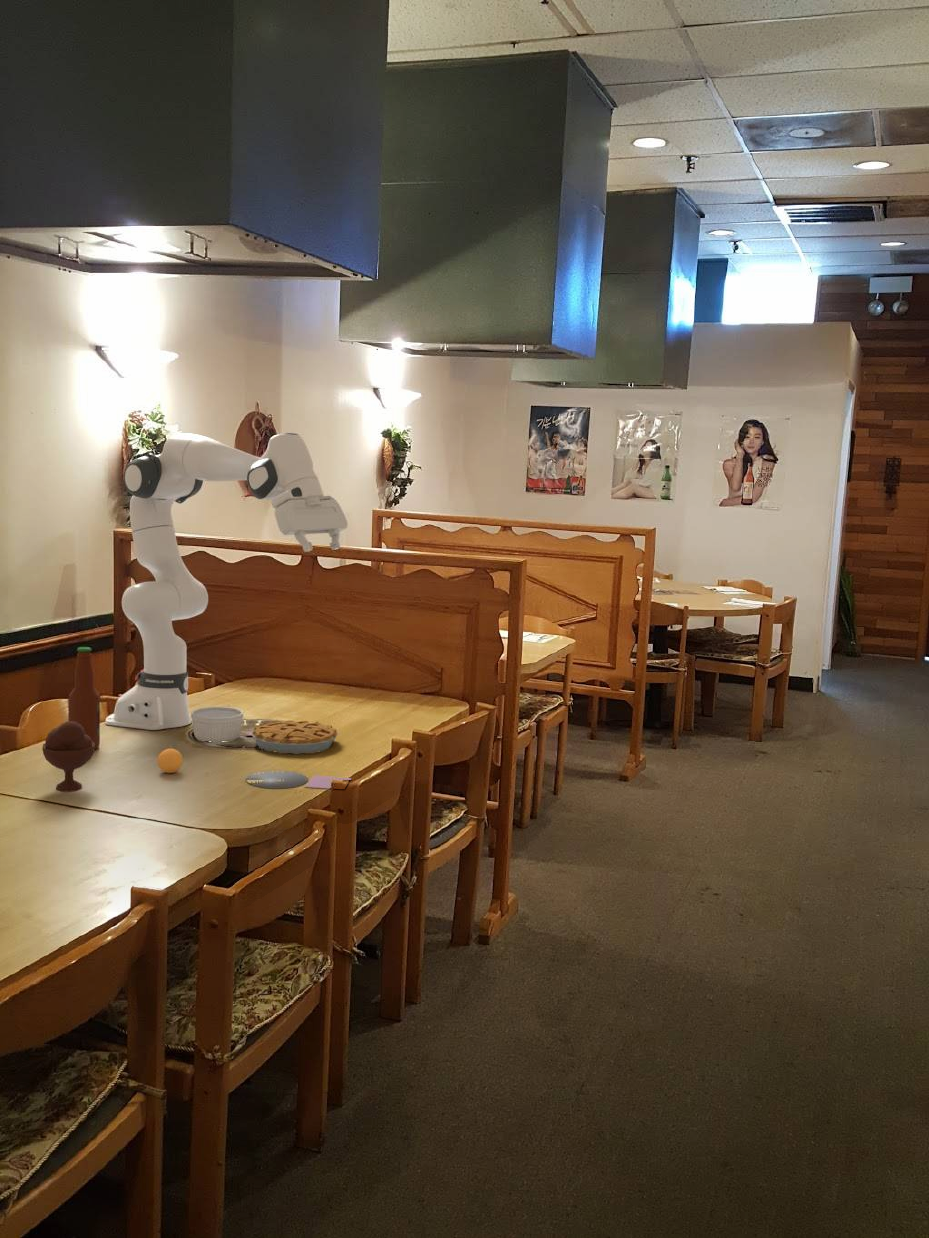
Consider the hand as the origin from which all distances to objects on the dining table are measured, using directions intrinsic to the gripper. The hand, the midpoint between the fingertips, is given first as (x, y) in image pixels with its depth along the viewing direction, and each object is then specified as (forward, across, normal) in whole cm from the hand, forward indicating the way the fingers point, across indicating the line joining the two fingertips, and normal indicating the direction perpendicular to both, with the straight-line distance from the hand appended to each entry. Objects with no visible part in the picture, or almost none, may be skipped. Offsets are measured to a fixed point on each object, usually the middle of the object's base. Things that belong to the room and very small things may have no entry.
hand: (322, 549), depth 262 cm
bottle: (+24, +32, -67) cm, 78 cm away
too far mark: (+53, +11, -11) cm, 55 cm away
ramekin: (+31, +2, -54) cm, 63 cm away
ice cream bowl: (+35, +54, -44) cm, 78 cm away
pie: (+40, -8, -38) cm, 55 cm away
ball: (+36, +31, -38) cm, 60 cm away
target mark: (+48, +18, -20) cm, 55 cm away
